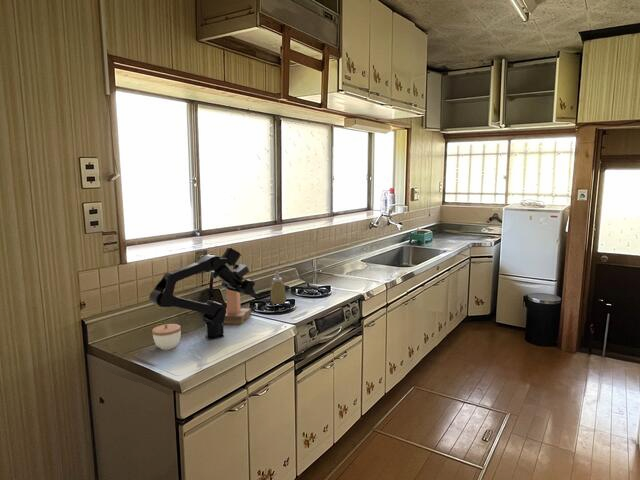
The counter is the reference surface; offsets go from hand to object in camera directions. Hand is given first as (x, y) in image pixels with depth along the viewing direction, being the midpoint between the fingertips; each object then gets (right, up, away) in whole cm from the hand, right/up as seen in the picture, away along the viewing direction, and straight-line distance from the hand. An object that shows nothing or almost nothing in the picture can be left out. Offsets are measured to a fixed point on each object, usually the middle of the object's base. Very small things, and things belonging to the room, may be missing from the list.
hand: (249, 294), depth 195 cm
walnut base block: (-9, -13, +10) cm, 19 cm away
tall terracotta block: (-9, -9, +10) cm, 16 cm away
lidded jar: (-29, -19, -21) cm, 41 cm away
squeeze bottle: (+10, -10, +29) cm, 32 cm away
